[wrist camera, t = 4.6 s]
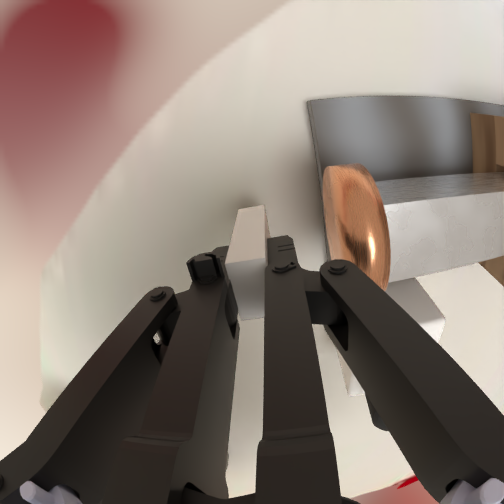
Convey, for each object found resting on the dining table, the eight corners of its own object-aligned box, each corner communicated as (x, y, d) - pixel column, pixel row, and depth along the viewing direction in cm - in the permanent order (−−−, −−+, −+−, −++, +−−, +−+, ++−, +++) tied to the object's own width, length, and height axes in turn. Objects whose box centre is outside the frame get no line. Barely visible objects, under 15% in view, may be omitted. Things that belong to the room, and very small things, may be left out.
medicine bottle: (333, 341, 27) (358, 449, 16) (336, 279, 23) (378, 396, 13) (399, 330, 26) (443, 425, 15) (411, 269, 23) (479, 365, 12)
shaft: (328, 263, 19) (355, 333, 13) (317, 157, 16) (352, 183, 10) (511, 229, 17) (562, 267, 11) (516, 149, 14) (578, 172, 8)
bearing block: (328, 278, 23) (365, 390, 13) (307, 101, 17) (362, 81, 7) (527, 237, 21) (590, 290, 10) (533, 112, 15) (615, 135, 4)
